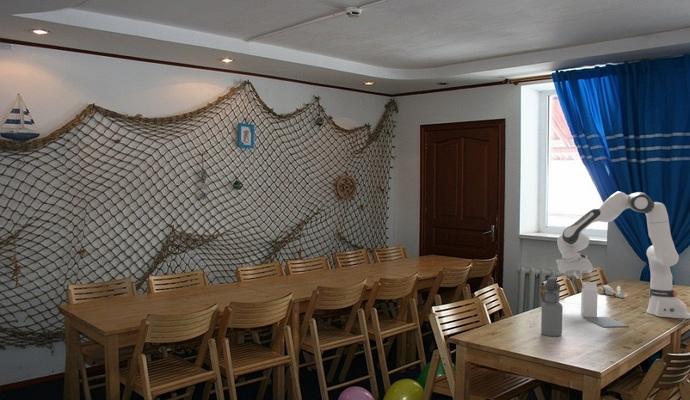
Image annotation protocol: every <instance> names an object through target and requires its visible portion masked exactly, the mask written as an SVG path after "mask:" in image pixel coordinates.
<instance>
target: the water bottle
mask: <svg viewBox="0 0 690 400" xmlns="http://www.w3.org/2000/svg"><path fill="white" fill-rule="evenodd" d="M557 280H558V277H557V276H549V277H548V278H547V281H546V282H545V283H544V286H545V287H544V290H545V292H544V293H543V302H542V304H541V319H540V320H541V321H540V322H541V323H540V326H541V327H540V333H541V334H542V335H544V336H546V337H547V336H548V337H560V336H562V334H563V310H564V307H563V304H562V303H561V302H560V291H561V284H560V283H558V282H557Z"/></svg>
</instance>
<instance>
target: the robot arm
mask: <svg viewBox="0 0 690 400" xmlns="http://www.w3.org/2000/svg"><path fill="white" fill-rule="evenodd" d="M627 209H631V210H633V211H634V212H638V213H644V214H645V218H646V225H647V232H648V237H649V238H650V242H651V243H652V245H650V246H648V248H647V249H646V256H647V259H648V264H649V265H648V267H649V271H650V288H649V290H648V291H649V292H648V296H649V297H648V298H649V301H648V305H647V309H646V313H648V314H650V315H652V316H653V315H654V316H656V317H661V318H663V317H664V318H675V319H676V318H677V319H686V320H687V319H690V312H688V307H687V305H686V303H685V302H683V301H682V300H680V299H679V298H678V297H677V294H678V293H677V291H676V290H674V289H673V274H672V271H671V267H673V266H675V265H676V264H677V263H678V262H679V259H680V256H679V253H678V252H677V250H676V247H675V244H674V240H673V238H672V233H671V227H670V220H669V214H668V211H667V208H666V206H665V204H664V203H662V202H658V201H653V200H652V199H651V198H650V196H649V195H647V194H646V193H645V192H641V191H639V192H638V191H637V192H633V193H628V194H626V193H625V192H622V191H616V192H614V193H613V194H611V195H610V196H609V197H608V198H606V200H604V202H602V203H601V204H600V205H598V206H597V207H595V208H593V209H591V210H589V211H588V212H587V213H585V214H584V215H583V216H581V217H580V218H579V219H578V220H577V221H575V222H574V223H572V224H571V225H569V226H567V227H566V228H564V229H563V231H562V234H561V235H559V236H558V238H557V240H556V242H557V248H558V250H559V252H560V254H561V258H556V260H555V262H556V265H557V270H558V272H559V273H560V274H572V275H573V276H574V277H575V279H578V280H579V279H580V280H581V279H583V274H591V273H592V272H593V270H594V266H593V264H592V263H591V261H590V260H589V259H588V256H587V254H584V253H583V254H582V253H579V252H581V251H583V250H585V249H586V248H588V247H589V245H590V237H589V236H588V235H586V234H585V233H584V232H583V231H584V230H585V229H587V228H588V227H589V226H590V225H591V224H593V223H595V222H599V223H600V222H603V223H610V222H612V221H614V220H616V219H617V218H618V217H619V216H620V215H621V214H622V213H623V211H625V210H627Z"/></svg>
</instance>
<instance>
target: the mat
mask: <svg viewBox="0 0 690 400" xmlns="http://www.w3.org/2000/svg"><path fill="white" fill-rule="evenodd" d="M582 319H583V320H585V321H588V322H590V323H592V324H594V325H597V326H599V327H602V328H607V329H608V328H629V327H630V326H629V324H626V323H623V322H621V321H618V320H616V319H613V318H611V317H608V316H597V317H585V316H583V317H582Z"/></svg>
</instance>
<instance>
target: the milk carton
mask: <svg viewBox="0 0 690 400" xmlns="http://www.w3.org/2000/svg"><path fill="white" fill-rule="evenodd" d="M597 286H598V285H597V281H582V285H581V297H580V298H581V301H580V302H581V304H580V305H581V307H580V315H582V316H583V317H598V290H597V289H598V287H597Z"/></svg>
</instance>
